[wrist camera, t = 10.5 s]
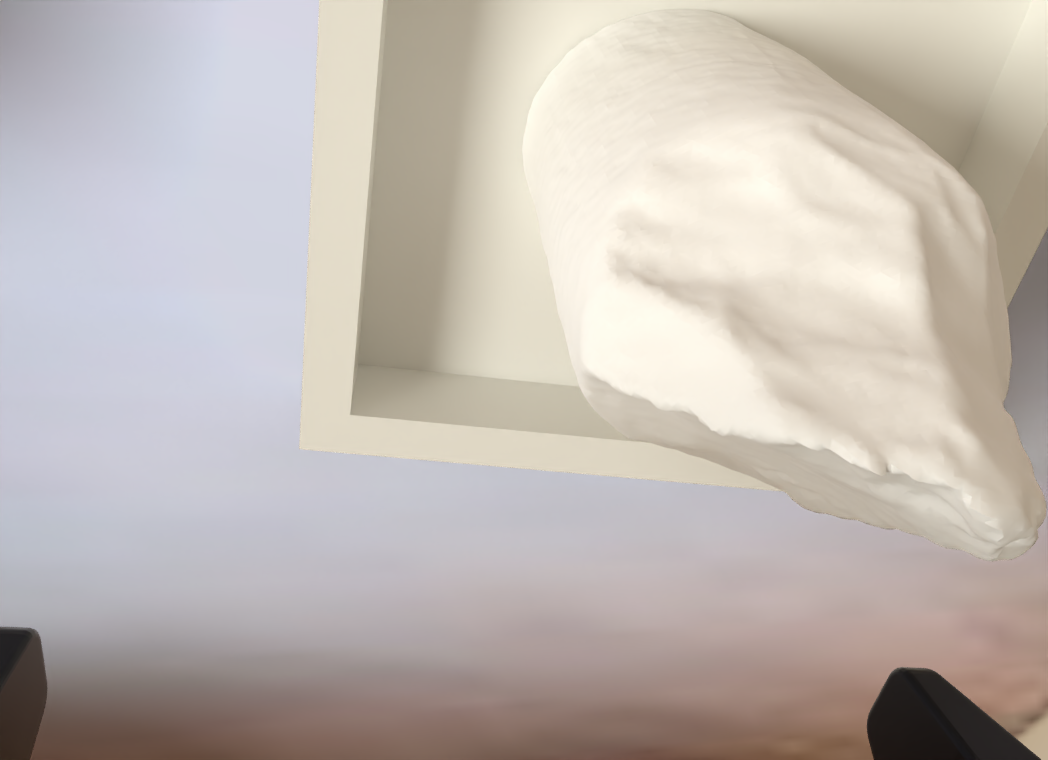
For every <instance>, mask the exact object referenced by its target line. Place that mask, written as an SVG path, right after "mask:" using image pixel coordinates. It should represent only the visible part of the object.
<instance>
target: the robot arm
mask: <svg viewBox="0 0 1048 760" xmlns="http://www.w3.org/2000/svg"><path fill="white" fill-rule="evenodd" d="M46 699H47V679H46V672H45V665H44V658H43V652H42V645H41V639H40V636H39V634H38V632H37V631H36V630H35V629H31V628H22V627H0V760H30V757H31V754H32V750H33V747H34V743H35V740H36V737H37V733H38V730H39V727H40V723H41V720H42V716H43V713H44V709H45V705H46ZM867 733H868V739H869V743H870V747H871V751H872V754H873V758H874V760H1041V759H1040V758H1039V757H1038V756H1036V755H1035V754H1034V753H1033V752H1031V751H1030V750H1029V749H1028V748H1027V747H1026V746H1024V745H1023V744H1022V743H1021V742H1020V741H1018V740H1017V739H1016V738H1015V737H1014V736H1012V735H1011V734H1010V733H1009V732H1008V731H1006V730H1005V729H1004V728H1003V727H1002V726H1000V725H999V724H998V723H997V722H996V721H994V720H993V719H992V718H991V717H990V716H988V715H987V714H986V713H985V712H984V711H983V710H981V709H980V708H979V707H978V706H977V705H975V704H974V703H973V702H972V701H971V700H969V699H968V698H967V697H966V696H965V695H963V694H962V693H961V692H960V691H959V690H957V689H956V688H955V687H954V686H953V685H951V684H950V683H949V682H948V681H947V680H945V679H944V678H943V677H942V676H941V675H939V674H938V673H937V672H935V671H933V670H930V669H926V668H908V667H900V668H897V669H895V670H894V671H892V672H891V674H890V675H889V677H888V679H887V681H886V682H885V684H884V686H883V688H882V690H881V692H880V694H879V695H878V697H877V699H876V701H875V703H874V705H873V706H872V708H871V710H870V712H869V715H868V720H867Z"/></svg>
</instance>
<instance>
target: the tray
mask: <svg viewBox="0 0 1048 760" xmlns="http://www.w3.org/2000/svg"><path fill="white" fill-rule="evenodd" d="M666 9H695V10H707V11H710V12H714V13H717V14H721V15H724V16H727V17H730V18H732V19H735V20H736V21H737V22H739V23H740V24H742V25H744V26H745V27H747V28H749V29H751V30H752V31H755V32H757V33H759V34H761V35H764V36H766V37H767V38H769V39H771V40H774V41H776V42H778V43H780V44H782V45H783V46H785V47H787V48H789V49H791V50H793V51H794V52H796V53H798V54H799V55H801V56H803V57H805V58H806V59H808V60H809V61H810V62H812V63H813V64H814V65H816V66H817V67H818V68H820V69H821V70H822V71H823V72H824V73H826V74H827V75H829V76H830V77H831V78H832V79H833V80H835V81H836V82H838V83H839V84H840V85H842V86H843V87H845V88H846V89H848V90H849V91H851V92H852V93H854V94H855V95H857V96H859V97H860V98H862V99H863V100H865V101H866V102H868V103H870V104H871V105H873V106H874V107H876V108H877V109H878V110H880V111H881V112H883V113H884V114H886V115H887V116H888V117H890V118H891V119H893V120H894V121H896V122H897V123H898V124H900V125H901V126H903V127H904V128H905V129H907V130H908V131H909V132H911V133H912V134H913V135H915V136H916V137H918V138H919V139H921V140H922V141H923V142H925V143H926V144H927V145H928V146H929V147H930V148H931V149H932V150H933V151H934V152H936V153H937V154H938V155H939V156H941V157H942V158H943V159H944V160H946V161H947V162H948V163H949V164H950V165H952V166H953V167H954V168H955V169H956V170H957V171H958V172H959V173H960V174H961V175H962V176H963V177H964V179H965V180H966V181H967V182H968V184H969V185H970V186H971V187H972V188H973V189H974V190H975V191H976V192H977V194H978V195H979V196H980V198H981V199H982V201H983V203H984V206H985V209H986V212H987V214H988V216H989V220H990V223H991V226H992V229H993V233H994V235H995V237H996V244H997V257H998V262H999V267H1000V272H1001V276H1002V280H1003V287H1004V297H1005V302H1006V307H1007V308H1008V306H1009V304H1010V302H1011V300H1012V298H1013V296H1014V294H1015V292H1016V290H1017V288H1018V286H1019V284H1020V282H1021V280H1022V278H1023V276H1024V274H1025V272H1026V270H1027V268H1028V266H1029V264H1030V262H1031V260H1032V258H1033V256H1034V254H1035V252H1036V250H1037V248H1038V246H1039V244H1040V242H1041V240H1042V238H1043V236H1044V234H1045V232H1046V230H1047V228H1048V0H319V22H318V44H317V66H316V89H315V111H314V133H313V155H312V177H311V200H310V222H309V244H308V266H307V288H306V311H305V333H304V355H303V377H302V399H301V422H300V444H299V449H303V450H315V451H326V452H338V453H349V454H361V455H372V456H384V457H395V458H406V459H418V460H429V461H441V462H452V463H464V464H475V465H487V466H498V467H510V468H521V469H533V470H544V471H555V472H567V473H578V474H590V475H601V476H613V477H624V478H636V479H647V480H659V481H670V482H682V483H693V484H704V485H716V486H727V487H739V488H750V489H762V490H773V491H782V490H780V489H778V488H776V487H773V486H771V485H769V484H766V483H764V482H762V481H760V480H758V479H755V478H753V477H751V476H748V475H745V474H743V473H740V472H737V471H734V470H731V469H729V468H726V467H724V466H721V465H719V464H717V463H713V462H711V461H708V460H706V459H703V458H700V457H695V456H692V455H688V454H686V453H684V452H681V451H678V450H675V449H670V448H665V447H662V446H659V445H656V444H653V443H650V442H645V441H636V440H632V439H629V438H627V437H626V436H624V435H623V434H622V433H620V432H619V431H618V430H617V429H615V428H614V427H613V426H612V425H611V424H609V423H608V422H607V421H606V420H605V419H603V418H602V417H601V416H600V415H599V414H598V413H597V412H596V411H594V409H593V408H592V406H591V405H590V404H589V403H588V401H587V399H586V398H585V396H584V395H583V393H582V391H581V389H580V387H579V384H578V380H577V377H576V374H575V371H574V368H573V366H572V363H571V359H570V355H569V351H568V346H567V342H566V338H565V334H564V330H563V327H562V323H561V320H560V318H559V315H558V310H557V304H556V299H555V293H554V286H553V283H552V280H551V277H550V271H549V266H548V260H547V256H546V254H545V251H544V249H543V245H542V240H541V235H540V229H539V221H538V217H537V212H536V209H535V205H534V202H533V199H532V197H531V194H530V191H529V187H528V184H527V180H526V177H525V172H524V166H523V155H522V145H523V137H524V133H525V129H526V123H527V118H528V113H529V110H530V108H531V105H532V101H533V99H534V97H535V95H536V94H537V92H538V91H539V89H540V88H541V86H542V85H543V83H544V81H545V79H546V78H547V77H548V75H549V74H550V73H551V71H552V70H553V69H554V68H555V67H556V66H557V65H558V64H559V63H560V62H561V61H562V59H563V58H564V57H565V55H566V54H567V53H568V52H569V51H570V50H571V49H573V48H574V47H576V46H577V45H578V44H579V43H580V42H582V41H583V40H584V39H586V38H588V37H590V36H592V35H594V34H596V33H597V32H598V31H600V30H601V29H603V28H604V27H606V26H608V25H611V24H613V23H616V22H617V21H619V20H621V19H625V18H629V17H631V16H634V15H637V14H642V13H646V12H650V11H656V10H666Z"/></svg>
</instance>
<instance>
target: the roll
mask: <svg viewBox="0 0 1048 760" xmlns="http://www.w3.org/2000/svg"><path fill="white" fill-rule="evenodd" d="M522 155H523V166H524V172H525V177H526V180H527V184H528V187H529V191H530V194H531V197H532V199H533V202H534V205H535V209H536V212H537V217H538V221H539V229H540V235H541V240H542V245H543V249H544V251H545V254H546V256H547V260H548V266H549V271H550V277H551V280H552V283H553V286H554V293H555V299H556V304H557V310H558V315H559V318H560V320H561V323H562V327H563V330H564V334H565V338H566V342H567V346H568V351H569V355H570V359H571V363H572V366H573V368H574V371H575V374H576V377H577V380H578V384H579V387H580V389H581V391H582V393H583V395H584V396H585V398H586V399H587V401H588V403H589V404H590V405H591V406H592V408H593V409H594V411H596V412H597V413H598V414H599V415H600V416H601V417H602V418H603V419H605V420H606V421H607V422H608V423H609V424H611V425H612V426H613V427H614V428H615V429H617V430H618V431H619V432H620V433H622V434H623V435H624V436H626V437H627V438H629V439H632V440H636V441H645V442H650V443H653V444H656V445H659V446H662V447H665V448H670V449H675V450H678V451H681V452H684V453H686V454H688V455H692V456H695V457H700V458H703V459H706V460H708V461H711V462H713V463H717V464H719V465H721V466H724V467H726V468H729V469H731V470H734V471H737V472H740V473H743V474H745V475H748V476H751V477H753V478H755V479H758V480H760V481H762V482H764V483H766V484H769V485H771V486H773V487H776V488H778V489H780V490H782V491H784V492H786V493H787V494H788V495H789V496H790V498H791V499H792V500H793V501H795V502H796V503H798V504H799V505H800V506H801V507H803V508H805V509H808V510H811V511H813V512H816V513H826V514H830V515H833V516H836V517H839V518H842V519H850V520H858V521H861V522H864V523H866V524H869V525H872V526H877V527H880V528H884V529H899V530H901V531H903V532H906V533H910V534H914V535H919V536H922V537H925V538H927V539H928V540H930V541H932V542H934V543H936V544H937V545H939V546H941V547H944V548H949V549H959V550H964V551H966V552H968V553H970V554H972V555H974V556H976V557H978V558H980V559H983V560H986V561H997V560H1012V559H1014V558H1016V557H1018V556H1020V555H1022V554H1023V553H1025V552H1026V551H1027V550H1028V549H1030V548H1031V547H1032V546H1033V545H1034V544H1035V542H1036V540H1037V539H1038V531H1037V529H1038V528H1039V527H1040V526H1041V524H1042V523H1043V521H1044V519H1045V517H1046V501H1045V498H1044V495H1043V493H1042V491H1041V488H1040V486H1039V485H1038V483H1037V482H1036V480H1035V477H1034V472H1033V467H1032V464H1031V461H1030V459H1029V457H1028V456H1027V454H1026V452H1025V451H1024V449H1023V447H1022V444H1021V442H1020V439H1019V435H1018V431H1017V428H1016V425H1015V422H1014V420H1013V418H1012V417H1011V416H1010V414H1009V413H1008V412H1007V411H1006V410H1005V409H1004V407H1003V402H1004V400H1005V398H1006V395H1007V392H1008V388H1009V380H1010V369H1011V366H1012V355H1011V342H1010V333H1009V317H1008V312H1007V307H1006V302H1005V297H1004V287H1003V280H1002V276H1001V272H1000V267H999V262H998V257H997V244H996V237H995V235H994V233H993V229H992V226H991V223H990V220H989V216H988V214H987V212H986V209H985V206H984V203H983V201H982V199H981V198H980V196H979V195H978V194H977V192H976V191H975V190H974V189H973V188H972V187H971V186H970V185H969V184H968V182H967V181H966V180H965V179H964V177H963V176H962V175H961V174H960V173H959V172H958V171H957V170H956V169H955V168H954V167H953V166H952V165H950V164H949V163H948V162H947V161H946V160H944V159H943V158H942V157H941V156H939V155H938V154H937V153H936V152H934V151H933V150H932V149H931V148H930V147H929V146H928V145H927V144H926V143H925V142H923V141H922V140H921V139H919V138H918V137H916V136H915V135H913V134H912V133H911V132H909V131H908V130H907V129H905V128H904V127H903V126H901V125H900V124H898V123H897V122H896V121H894V120H893V119H891V118H890V117H888V116H887V115H886V114H884V113H883V112H881V111H880V110H878V109H877V108H876V107H874V106H873V105H871V104H870V103H868V102H866V101H865V100H863V99H862V98H860V97H859V96H857V95H855V94H854V93H852V92H851V91H849V90H848V89H846V88H845V87H843V86H842V85H840V84H839V83H838V82H836V81H835V80H833V79H832V78H831V77H830V76H829V75H827V74H826V73H824V72H823V71H822V70H821V69H820V68H818V67H817V66H816V65H814V64H813V63H812V62H810V61H809V60H808V59H806V58H805V57H803V56H801V55H799V54H798V53H796V52H794V51H793V50H791V49H789V48H787V47H785V46H783V45H782V44H780V43H778V42H776V41H774V40H771V39H769V38H767V37H766V36H764V35H761V34H759V33H757V32H755V31H752V30H751V29H749V28H747V27H745V26H744V25H742V24H740V23H739V22H737V21H736V20H735V19H732V18H730V17H727V16H724V15H721V14H717V13H714V12H710V11H707V10H695V9H666V10H656V11H650V12H646V13H642V14H637V15H634V16H631V17H629V18H625V19H621V20H619V21H617V22H616V23H613V24H611V25H608V26H606V27H604V28H603V29H601V30H600V31H598V32H597V33H596V34H594V35H592V36H590V37H588V38H586V39H584V40H583V41H582V42H580V43H579V44H578V45H577V46H576V47H574V48H573V49H571V50H570V51H569V52H568V53H567V54H566V55H565V57H564V58H563V59H562V61H561V62H560V63H559V64H558V65H557V66H556V67H555V68H554V69H553V70H552V71H551V73H550V74H549V75H548V77H547V78H546V79H545V81H544V83H543V85H542V86H541V88H540V89H539V91H538V92H537V94H536V95H535V97H534V99H533V101H532V105H531V108H530V110H529V113H528V118H527V123H526V129H525V133H524V137H523V145H522Z"/></svg>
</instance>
